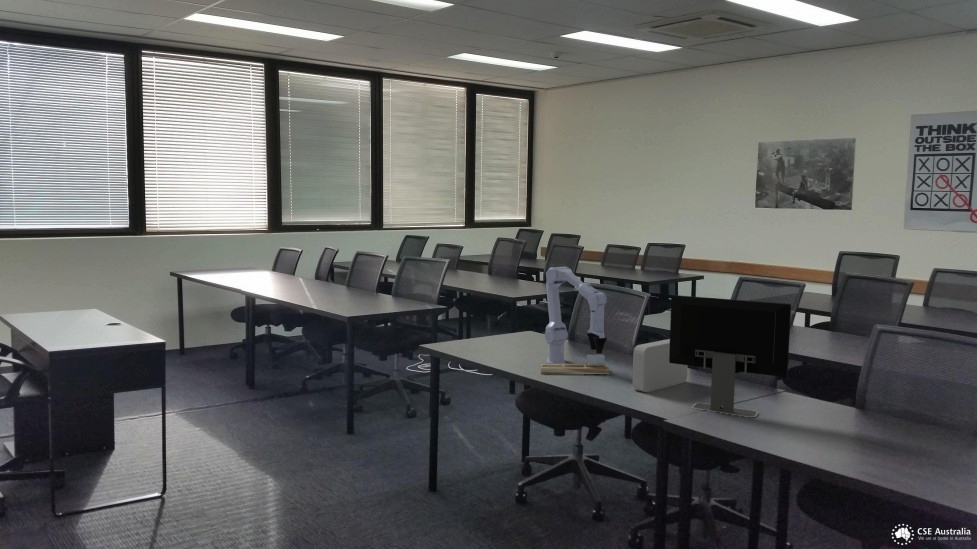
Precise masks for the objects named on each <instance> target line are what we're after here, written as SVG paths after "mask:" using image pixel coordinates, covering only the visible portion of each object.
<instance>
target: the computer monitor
mask: <svg viewBox="0 0 977 549" xmlns="http://www.w3.org/2000/svg"><path fill="white" fill-rule="evenodd" d="M791 316H792V304H791V303H787V302H783V303H782V302H770V301H758V300H757V301H755V300H746V299H745V300H743V299H733V298H732V299H731V298H717V297H705V296H704V297H703V296H694V295H693V296H692V295H691V296H690V295H678V294H677V295H676V294H673V295H671V297H670V325H669V339H670V350H669V363H673V364H681V365H688V366H691V367H697V368H699V367H700V368H703V370H705V369H706V368H707V369H711V386H710V388H711V390H710V403H706V402H705V403H704V402H695V403H694V404H693V405H692V406H691V408H694V409H693V410H695V409H698V410H697V411H702V410H707V411H706V412H708V411H713V412H712V413H715V412H720V413H719V414H722V413H725V414H724V415H728V414H731V415H730V416H735V415H738V416H737V417H741V416H744V417H743V418H748V417H755V418H757V416H758V415H759V412H758V411H757V410H752V409H746V408H739V407H735V388H736V386H735V384H736V374H738V373H744V375H747V374H757V375H763V376H772V377H780V378H787V377H788V375H789V371H788V370H789V357H790V356H789V354H790V339H791V338H790V334H791V318H792V317H791Z"/></svg>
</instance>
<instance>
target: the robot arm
mask: <svg viewBox="0 0 977 549" xmlns="http://www.w3.org/2000/svg"><path fill="white" fill-rule="evenodd" d="M545 277H546V283H545V287H546V288H545V289H546V296H547V297H546V298H547V307H548V308H547V309H548V317H549V323H548V324H547V325H546V327H545V333H544V340H545V341H546V342H547V344H548V346H547V347H548V352H547V353H548V354H547V355H548V356H547V358H546V361H547V362H546V363H552V364H566V361H565V360H566V359H565V343H566V341H567V340H568V337H569V333H568V330H567V326H566V324H565V323H564V322H563V321H562V313H561V302H560V300H561V299H560V291H559V290H560V289H559V288H560V286H562V284H563V283H565V282H568V283H569V284H570V285H572V286H574V288H576V289H578V293H579V295H581V296H582V298H583V297H584V299H586V300H587V303H588V305H589V310H590V320H589V322H590V324H589V330H587V333H586V336H587V338H588V341H589V346H590V350H592V351H595V352H596V355H600V354H603V350H604V347H605V344H606V342H607V340H608V337H605V330H604V329H605V328H604V327H605V326H604V325H605V323H604V322H605V320H604V319H605V305H606V304H607V303H608V296H607V294H606V293H605V291H599V290H598V289H596V288H594V287H593V286H592V285H591V283H590V282H583V281H582V280H581V279H580V278H579V277H577V275H575V273H573V271H572V269H571V268H569V267H568V266H557V267H553V266H552V267H549V268H548V270H547V271H545Z"/></svg>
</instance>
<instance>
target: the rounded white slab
mask: <svg viewBox="0 0 977 549" xmlns="http://www.w3.org/2000/svg"><path fill="white" fill-rule="evenodd" d="M669 350H670V338H668V339H667V338H666V339H663V340H658V341H653V342H652V341H651V342H648V343H647V342H646V343H643V344H641V343H640V344H637V345H636V346H635V347H634V349H633V356H632V360H633V361H632V388H633V390H635V391H639V392H643V393H650V391H651V392H654V390H655V391H657V389H658V390H662V389H665V388H670V387H673V386H676V385H681V383H682V384H684V383H685V382H686V381H687V379H688V370H689V369H688V366H689V365H681V364H673V363H669ZM669 386H670V387H669Z"/></svg>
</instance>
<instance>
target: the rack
mask: <svg viewBox="0 0 977 549" xmlns="http://www.w3.org/2000/svg"><path fill="white" fill-rule="evenodd" d="M539 366H540V368H539V370H540V374H542V375H543V374H544V375H584V374H609V375H610V368H609V366H608V364H606V363H604V367H587V362H586V363H565V364H552V363H547V362H546V363H543V362H541V363H540V365H539Z"/></svg>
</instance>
